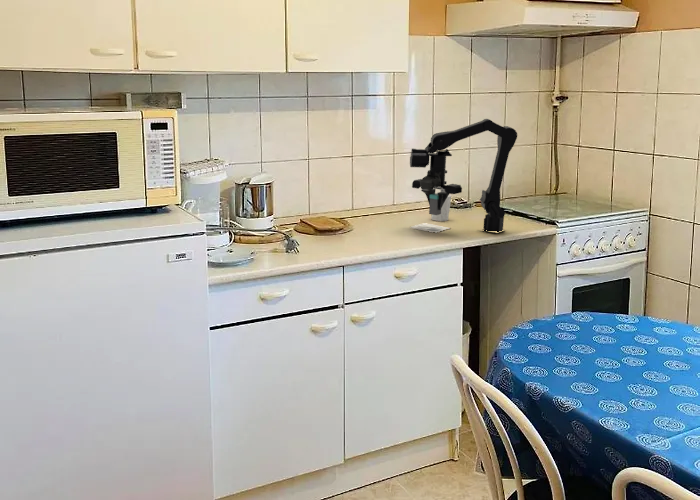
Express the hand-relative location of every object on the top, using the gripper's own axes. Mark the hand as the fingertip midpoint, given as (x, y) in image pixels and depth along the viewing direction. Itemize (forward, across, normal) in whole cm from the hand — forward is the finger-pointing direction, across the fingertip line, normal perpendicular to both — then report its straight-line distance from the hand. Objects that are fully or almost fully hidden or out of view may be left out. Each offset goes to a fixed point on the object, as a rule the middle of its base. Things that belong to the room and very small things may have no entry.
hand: (435, 209), depth 287 cm
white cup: (+8, -9, +18) cm, 22 cm away
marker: (+2, 0, 0) cm, 2 cm away
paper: (+8, -3, +2) cm, 9 cm away
